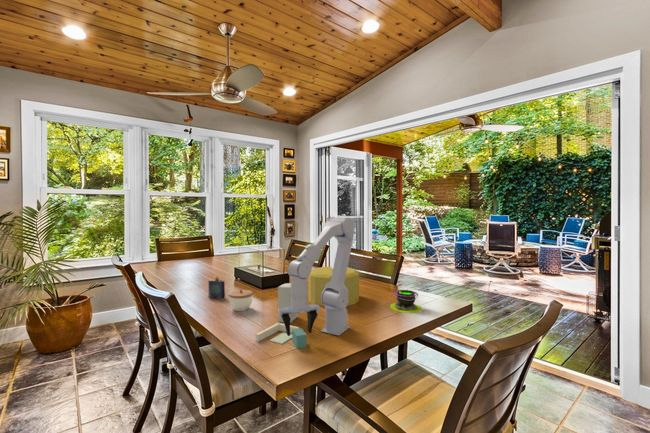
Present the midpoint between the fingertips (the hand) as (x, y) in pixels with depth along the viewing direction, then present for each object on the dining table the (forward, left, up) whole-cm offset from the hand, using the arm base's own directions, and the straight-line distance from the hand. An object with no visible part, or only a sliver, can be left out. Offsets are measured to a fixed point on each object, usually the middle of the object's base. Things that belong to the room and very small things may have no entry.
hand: (298, 333), depth 113 cm
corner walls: (-1, -10, -4) cm, 11 cm away
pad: (-1, -8, -4) cm, 9 cm away
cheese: (-54, -15, -4) cm, 56 cm away
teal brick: (0, 0, -4) cm, 4 cm away
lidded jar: (-18, -45, -4) cm, 49 cm away
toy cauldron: (-59, +22, -4) cm, 63 cm away
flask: (-26, -70, -4) cm, 75 cm away
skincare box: (-18, -18, -4) cm, 26 cm away
